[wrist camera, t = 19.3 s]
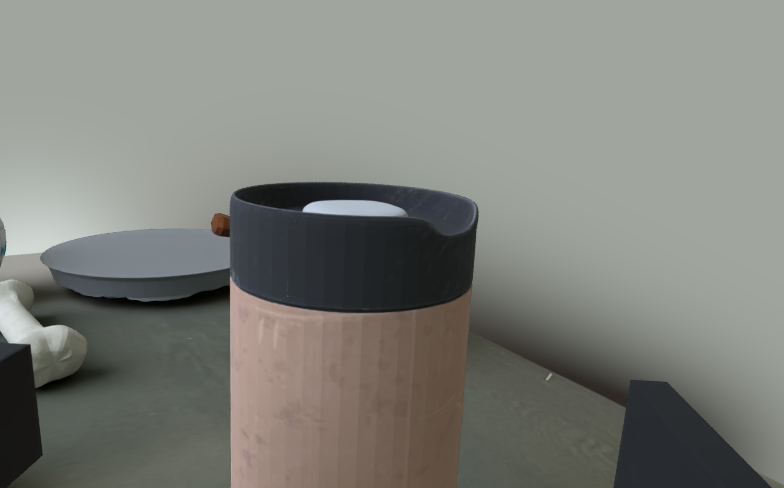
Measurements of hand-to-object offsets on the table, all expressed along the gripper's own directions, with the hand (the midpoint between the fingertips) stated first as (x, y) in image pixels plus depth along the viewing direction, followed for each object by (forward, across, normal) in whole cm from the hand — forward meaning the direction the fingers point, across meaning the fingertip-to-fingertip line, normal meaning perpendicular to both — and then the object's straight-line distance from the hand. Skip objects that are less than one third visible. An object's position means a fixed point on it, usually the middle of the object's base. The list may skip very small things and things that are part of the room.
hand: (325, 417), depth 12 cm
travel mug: (+6, 0, -16) cm, 17 cm away
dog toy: (+35, -34, -16) cm, 52 cm away
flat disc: (+60, -32, -16) cm, 70 cm away
